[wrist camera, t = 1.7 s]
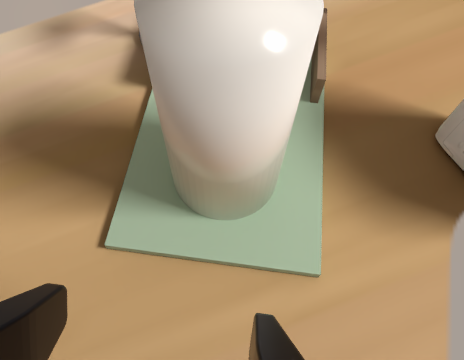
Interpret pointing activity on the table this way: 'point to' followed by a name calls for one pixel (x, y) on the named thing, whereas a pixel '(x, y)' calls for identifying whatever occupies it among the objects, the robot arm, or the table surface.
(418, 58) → the table surface
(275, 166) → the white rounded block
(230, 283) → the table surface
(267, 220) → the green mat
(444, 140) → the photo printer
